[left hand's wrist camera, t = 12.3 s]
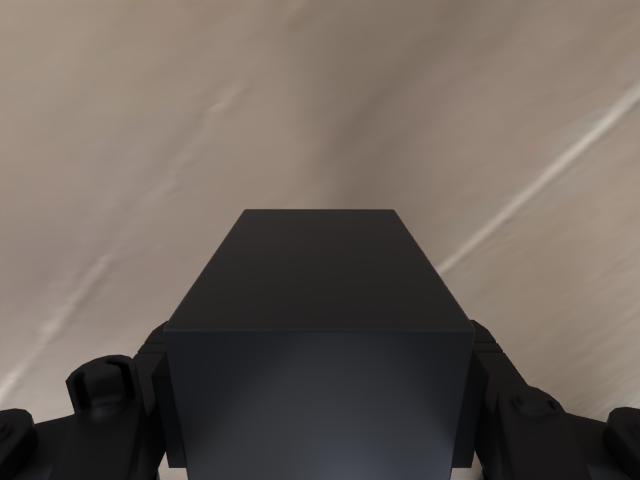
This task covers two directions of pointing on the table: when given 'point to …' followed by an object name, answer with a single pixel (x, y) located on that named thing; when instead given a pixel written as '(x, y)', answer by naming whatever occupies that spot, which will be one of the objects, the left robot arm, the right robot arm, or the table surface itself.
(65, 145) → the table surface
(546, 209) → the table surface
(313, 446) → the bar
